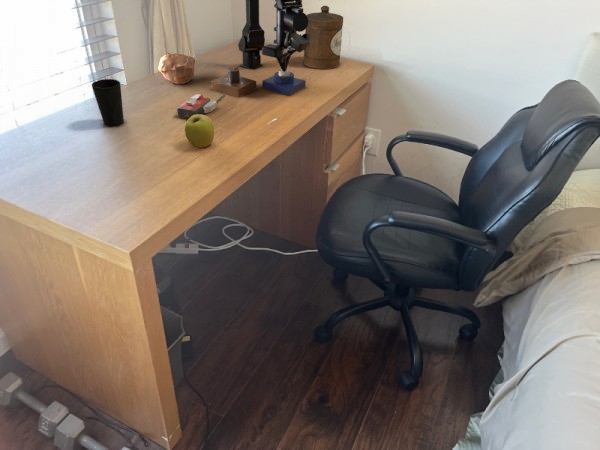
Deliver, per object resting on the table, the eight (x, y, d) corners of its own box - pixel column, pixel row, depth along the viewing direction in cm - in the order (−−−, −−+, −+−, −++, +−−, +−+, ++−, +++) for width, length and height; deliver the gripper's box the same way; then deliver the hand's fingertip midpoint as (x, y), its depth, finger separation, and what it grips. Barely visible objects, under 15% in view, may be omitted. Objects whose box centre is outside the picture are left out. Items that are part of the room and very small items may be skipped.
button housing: (262, 88, 170) (262, 74, 167) (278, 80, 177) (278, 67, 174) (290, 95, 165) (290, 81, 162) (305, 87, 172) (306, 74, 169)
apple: (210, 131, 137) (210, 103, 130) (217, 150, 133) (216, 123, 125) (183, 134, 135) (180, 106, 127) (188, 154, 131) (186, 126, 123)
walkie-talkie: (199, 122, 144) (227, 99, 160) (198, 109, 142) (226, 87, 157) (174, 118, 146) (203, 96, 162) (172, 104, 144) (202, 83, 159)
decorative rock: (161, 87, 167) (157, 58, 161) (158, 77, 175) (154, 49, 170) (199, 84, 171) (196, 56, 165) (194, 74, 179) (192, 47, 173)
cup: (132, 120, 144) (125, 81, 137) (117, 130, 138) (108, 89, 131) (111, 116, 146) (103, 77, 139) (94, 125, 140) (85, 85, 133)
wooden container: (340, 70, 190) (345, 10, 177) (303, 68, 189) (305, 9, 176) (338, 58, 202) (343, 2, 189) (303, 57, 201) (305, 1, 188)
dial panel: (212, 89, 167) (211, 80, 166) (230, 81, 174) (229, 73, 172) (238, 97, 162) (238, 88, 160) (256, 89, 169) (256, 80, 167)
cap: (276, 77, 168) (276, 71, 167) (282, 74, 171) (282, 68, 170) (285, 79, 166) (285, 73, 165) (291, 76, 169) (292, 71, 168)
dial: (234, 83, 164) (234, 71, 162) (225, 81, 166) (225, 68, 163) (242, 80, 167) (241, 68, 165) (233, 78, 169) (232, 65, 166)
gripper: (289, 34, 148) (288, 83, 158) (320, 23, 161) (317, 69, 171) (260, 28, 153) (261, 76, 162) (292, 18, 166) (291, 63, 175)
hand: (284, 71), depth 168 cm, fingers closed, pressing on cap
